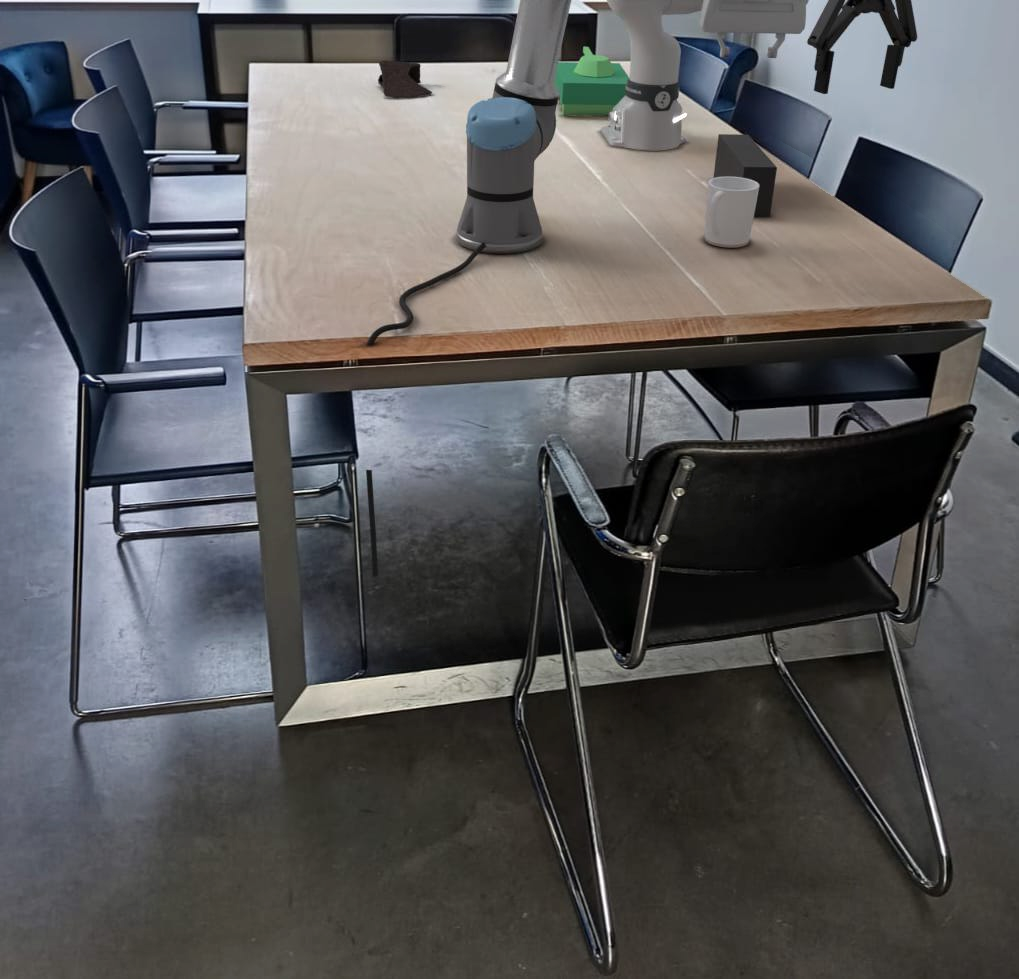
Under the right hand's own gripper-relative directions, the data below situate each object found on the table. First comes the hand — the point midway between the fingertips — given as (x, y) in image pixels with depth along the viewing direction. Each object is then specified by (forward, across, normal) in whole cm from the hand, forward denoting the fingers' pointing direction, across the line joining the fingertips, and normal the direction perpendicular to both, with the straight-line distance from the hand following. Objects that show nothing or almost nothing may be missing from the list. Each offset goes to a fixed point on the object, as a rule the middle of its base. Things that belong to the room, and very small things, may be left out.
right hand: (747, 57), depth 215 cm
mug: (+25, +9, +37) cm, 45 cm away
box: (+25, 0, +9) cm, 27 cm away
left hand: (-2, -9, +39) cm, 40 cm away
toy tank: (+25, +23, -75) cm, 82 cm away
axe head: (+25, +73, -87) cm, 117 cm away
